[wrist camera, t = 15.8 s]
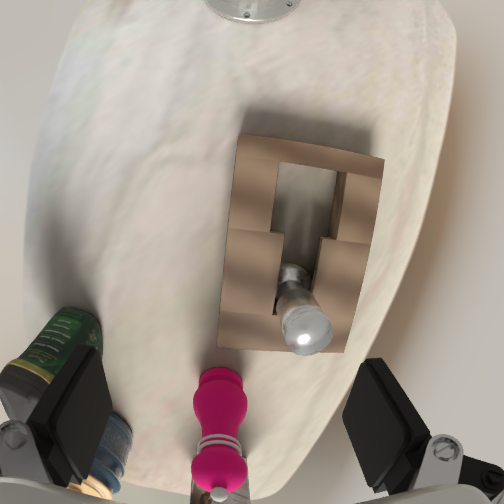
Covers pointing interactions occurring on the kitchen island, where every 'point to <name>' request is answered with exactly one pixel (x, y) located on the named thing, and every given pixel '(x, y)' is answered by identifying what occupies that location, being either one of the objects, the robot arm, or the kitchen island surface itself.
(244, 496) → the coffee box
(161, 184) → the kitchen island surface
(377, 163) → the keyhole board
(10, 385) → the coffee jar
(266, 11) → the robot arm
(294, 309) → the steel peg
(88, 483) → the canister
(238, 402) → the pepper mill
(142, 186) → the kitchen island surface
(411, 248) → the kitchen island surface
